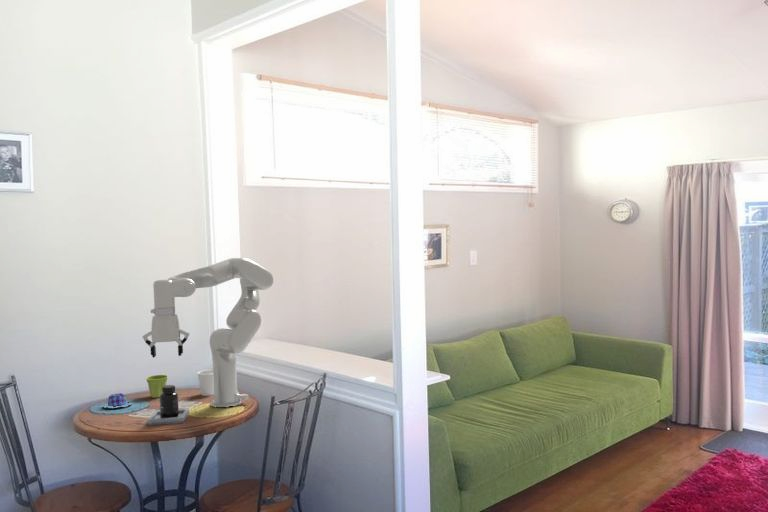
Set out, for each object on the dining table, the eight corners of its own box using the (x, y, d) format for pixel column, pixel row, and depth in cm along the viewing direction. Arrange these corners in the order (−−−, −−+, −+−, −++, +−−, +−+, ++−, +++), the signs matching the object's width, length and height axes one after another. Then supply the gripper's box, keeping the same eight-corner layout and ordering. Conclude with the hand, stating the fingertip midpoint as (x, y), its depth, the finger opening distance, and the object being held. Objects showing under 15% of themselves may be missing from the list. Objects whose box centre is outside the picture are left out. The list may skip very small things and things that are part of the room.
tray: (189, 413, 265) (189, 408, 265) (183, 422, 252) (183, 417, 252) (155, 415, 263) (155, 410, 263) (147, 425, 250) (147, 419, 250)
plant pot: (164, 398, 291) (163, 379, 291) (143, 399, 292) (142, 379, 291) (171, 393, 301) (171, 374, 301) (151, 394, 301) (150, 375, 301)
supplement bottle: (156, 419, 255) (155, 388, 255) (166, 414, 262) (165, 384, 261) (173, 419, 254) (171, 388, 253) (182, 415, 260) (181, 384, 260)
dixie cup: (218, 391, 302) (218, 369, 302) (215, 396, 294) (214, 373, 293) (200, 392, 301) (199, 370, 301) (196, 396, 293) (195, 374, 293)
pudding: (130, 402, 289) (129, 390, 289) (134, 408, 278) (133, 395, 278) (100, 406, 283) (99, 393, 283) (103, 412, 272) (102, 399, 272)
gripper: (139, 314, 252) (141, 359, 253) (186, 311, 254) (188, 356, 255) (143, 311, 259) (146, 355, 260) (189, 309, 262) (191, 353, 262)
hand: (167, 356), depth 257 cm, fingers open, 9 cm apart
